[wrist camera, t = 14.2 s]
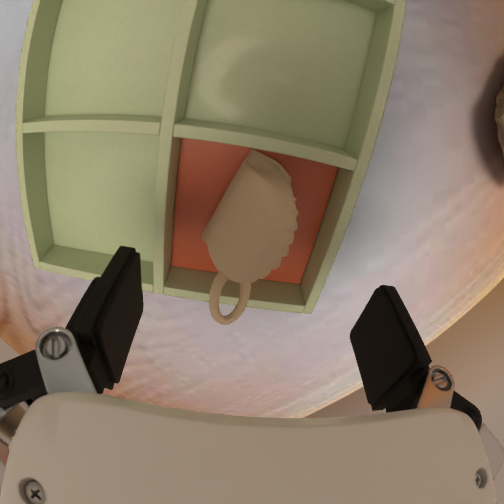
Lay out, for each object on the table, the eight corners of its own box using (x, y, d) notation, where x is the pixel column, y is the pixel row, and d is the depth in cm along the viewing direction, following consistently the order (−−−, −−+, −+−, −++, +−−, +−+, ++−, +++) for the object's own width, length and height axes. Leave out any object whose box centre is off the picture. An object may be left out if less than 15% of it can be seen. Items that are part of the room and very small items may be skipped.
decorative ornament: (311, 181, 17) (336, 220, 12) (240, 277, 20) (239, 334, 16) (254, 146, 15) (257, 171, 11) (189, 253, 19) (173, 306, 15)
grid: (384, 10, 11) (407, 1, 8) (304, 287, 22) (311, 314, 19) (64, -15, 8) (40, -24, 6) (52, 247, 19) (34, 267, 17)
